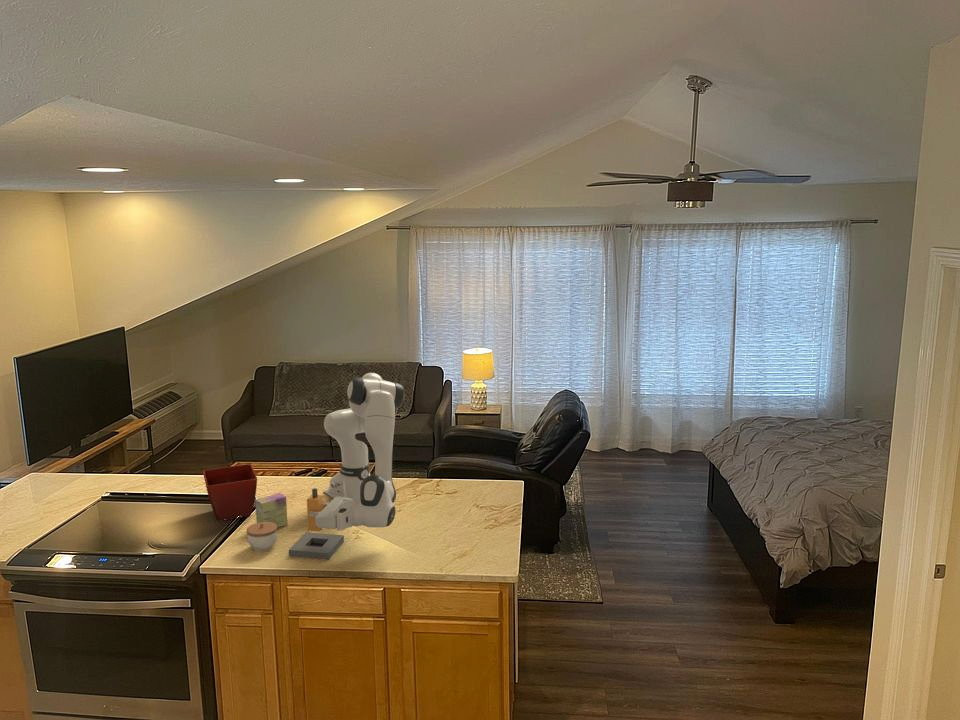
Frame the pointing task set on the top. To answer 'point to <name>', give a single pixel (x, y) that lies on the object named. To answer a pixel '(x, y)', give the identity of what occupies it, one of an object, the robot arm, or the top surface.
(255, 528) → the lidded jar
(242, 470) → the plant pot
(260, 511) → the box
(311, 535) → the socket
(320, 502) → the plug
